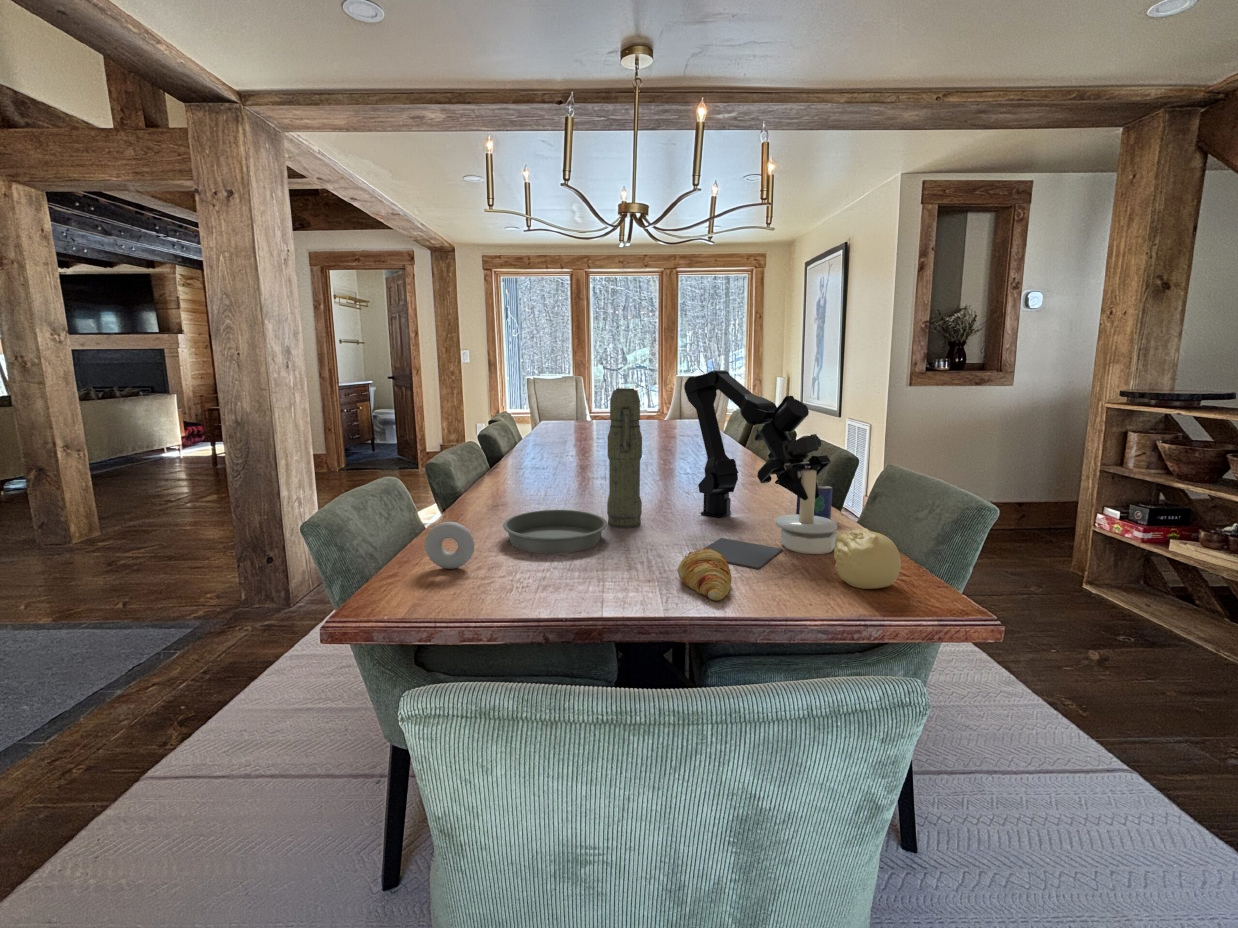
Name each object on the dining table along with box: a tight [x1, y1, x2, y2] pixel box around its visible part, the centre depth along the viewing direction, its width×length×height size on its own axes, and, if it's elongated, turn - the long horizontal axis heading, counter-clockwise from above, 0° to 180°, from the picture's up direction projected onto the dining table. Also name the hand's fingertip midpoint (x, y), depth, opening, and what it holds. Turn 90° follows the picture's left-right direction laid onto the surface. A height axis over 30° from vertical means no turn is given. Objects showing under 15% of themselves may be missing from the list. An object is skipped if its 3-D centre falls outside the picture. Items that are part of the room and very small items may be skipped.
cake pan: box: [502, 509, 608, 554], centre depth 147 cm, size 25×25×4 cm
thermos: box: [606, 387, 643, 529], centre depth 159 cm, size 9×12×35 cm
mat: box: [702, 537, 784, 570], centre depth 138 cm, size 15×15×1 cm
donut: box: [424, 521, 475, 570], centre depth 127 cm, size 10×4×10 cm, turn 92°
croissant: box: [676, 548, 732, 601], centre depth 120 cm, size 21×10×8 cm, turn 8°
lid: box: [775, 470, 838, 534], centre depth 142 cm, size 14×14×13 cm
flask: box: [795, 480, 833, 519], centre depth 166 cm, size 9×3×11 cm, turn 88°
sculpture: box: [833, 527, 902, 590], centre depth 119 cm, size 11×12×11 cm
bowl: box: [779, 528, 839, 555], centre depth 142 cm, size 12×12×4 cm
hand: (812, 498), depth 140 cm, fingers closed on lid, 3 cm apart
